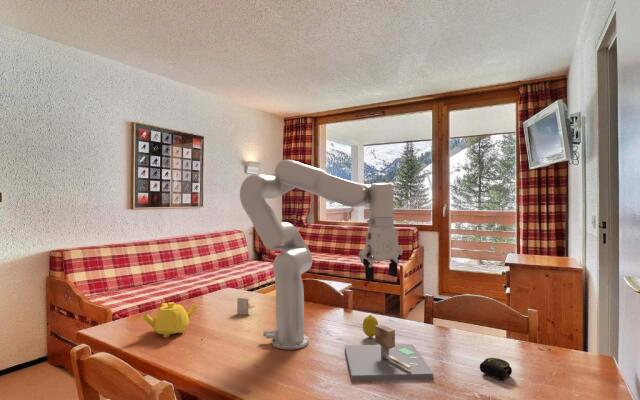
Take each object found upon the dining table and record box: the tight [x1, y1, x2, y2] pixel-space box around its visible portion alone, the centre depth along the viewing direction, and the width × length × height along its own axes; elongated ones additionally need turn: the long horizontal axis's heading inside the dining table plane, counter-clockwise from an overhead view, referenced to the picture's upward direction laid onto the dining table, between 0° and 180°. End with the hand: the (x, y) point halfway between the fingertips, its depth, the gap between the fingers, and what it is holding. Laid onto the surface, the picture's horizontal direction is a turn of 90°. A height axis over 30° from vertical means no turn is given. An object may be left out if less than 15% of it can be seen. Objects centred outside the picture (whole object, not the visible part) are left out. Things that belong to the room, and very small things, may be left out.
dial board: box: [344, 343, 435, 382], centre depth 106 cm, size 22×20×2 cm
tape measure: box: [479, 357, 513, 382], centre depth 98 cm, size 7×7×4 cm
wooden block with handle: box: [374, 323, 411, 370], centre depth 103 cm, size 13×2×9 cm, turn 31°
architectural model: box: [236, 297, 256, 315], centre depth 155 cm, size 3×7×7 cm, turn 66°
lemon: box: [362, 314, 379, 339], centre depth 126 cm, size 6×6×8 cm
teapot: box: [141, 301, 198, 338], centre depth 133 cm, size 20×18×11 cm
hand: (381, 277), depth 112 cm, fingers open, 9 cm apart
